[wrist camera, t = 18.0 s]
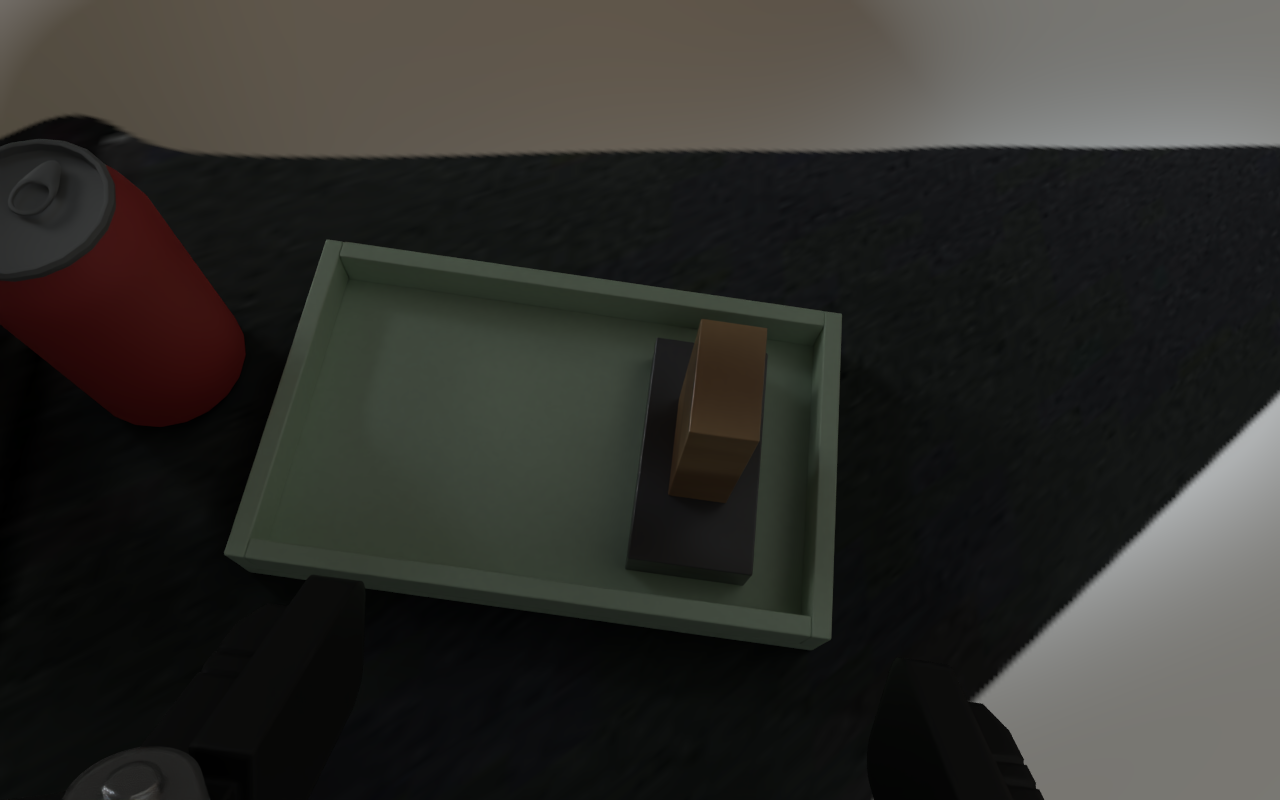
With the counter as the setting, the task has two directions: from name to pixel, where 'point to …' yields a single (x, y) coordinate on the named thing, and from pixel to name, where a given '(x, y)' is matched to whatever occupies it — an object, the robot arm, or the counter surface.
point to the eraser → (701, 456)
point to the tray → (526, 446)
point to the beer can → (109, 288)
